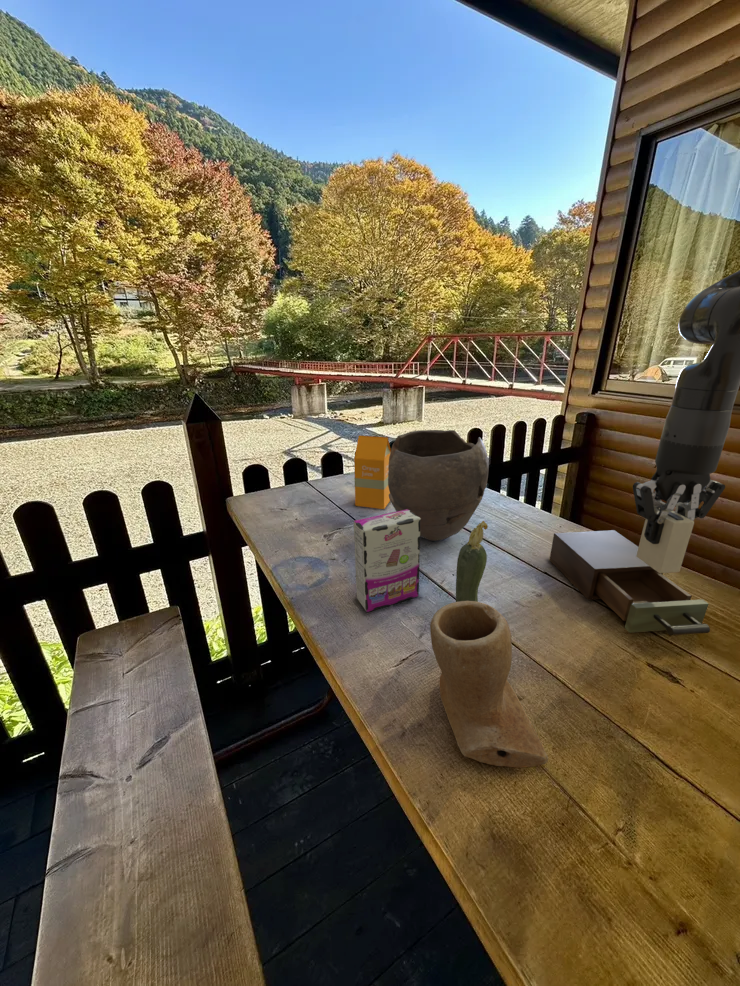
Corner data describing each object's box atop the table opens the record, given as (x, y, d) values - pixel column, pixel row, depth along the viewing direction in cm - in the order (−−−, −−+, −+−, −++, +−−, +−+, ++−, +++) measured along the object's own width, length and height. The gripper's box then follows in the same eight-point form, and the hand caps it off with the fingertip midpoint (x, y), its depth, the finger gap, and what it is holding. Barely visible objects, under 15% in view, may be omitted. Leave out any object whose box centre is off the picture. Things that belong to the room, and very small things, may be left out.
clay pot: (490, 526, 105) (501, 430, 96) (466, 571, 85) (476, 456, 76) (404, 510, 116) (407, 422, 107) (365, 546, 96) (363, 442, 87)
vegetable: (451, 635, 67) (460, 525, 60) (452, 619, 71) (461, 514, 64) (478, 639, 66) (491, 528, 59) (478, 622, 70) (490, 516, 63)
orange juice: (384, 509, 116) (384, 440, 109) (354, 505, 119) (353, 438, 112) (391, 499, 123) (392, 434, 116) (363, 496, 126) (362, 432, 118)
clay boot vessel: (418, 676, 59) (422, 588, 54) (498, 671, 60) (510, 584, 55) (444, 782, 45) (453, 678, 40) (548, 774, 46) (571, 671, 41)
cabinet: (656, 595, 77) (665, 565, 75) (588, 599, 76) (595, 569, 74) (608, 556, 91) (614, 530, 88) (549, 559, 90) (553, 532, 87)
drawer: (723, 645, 63) (733, 620, 62) (648, 651, 62) (655, 625, 61) (642, 582, 80) (648, 560, 78) (582, 585, 79) (586, 563, 77)
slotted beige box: (654, 555, 71) (667, 506, 68) (679, 572, 66) (695, 520, 62) (635, 556, 71) (648, 507, 67) (659, 573, 66) (674, 521, 62)
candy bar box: (405, 583, 81) (408, 507, 76) (419, 597, 77) (422, 517, 71) (354, 598, 77) (352, 519, 71) (365, 613, 73) (364, 530, 67)
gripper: (666, 445, 56) (638, 555, 63) (760, 442, 57) (724, 550, 64) (629, 433, 63) (607, 533, 70) (714, 430, 64) (685, 528, 71)
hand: (663, 540), depth 67 cm, fingers closed on slotted beige box, 3 cm apart
